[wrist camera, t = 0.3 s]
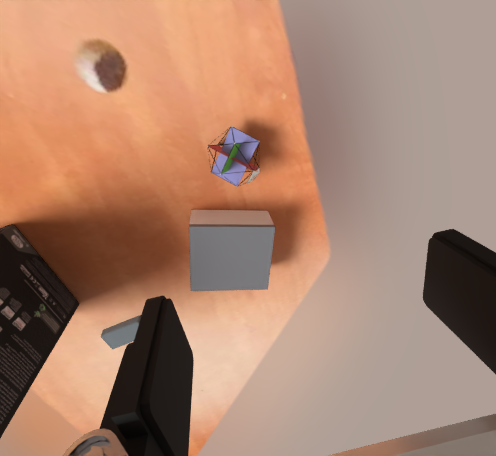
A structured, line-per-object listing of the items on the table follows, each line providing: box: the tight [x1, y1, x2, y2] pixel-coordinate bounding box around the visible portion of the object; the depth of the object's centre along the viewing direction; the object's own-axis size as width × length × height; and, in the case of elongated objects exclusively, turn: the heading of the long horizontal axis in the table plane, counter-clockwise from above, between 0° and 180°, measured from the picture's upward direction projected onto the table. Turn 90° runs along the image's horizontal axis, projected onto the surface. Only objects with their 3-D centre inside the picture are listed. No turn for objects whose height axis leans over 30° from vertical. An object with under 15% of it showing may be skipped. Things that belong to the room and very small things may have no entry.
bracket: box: [101, 316, 141, 349], centre depth 53 cm, size 4×10×2 cm, turn 112°
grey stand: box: [189, 210, 275, 291], centre depth 45 cm, size 11×12×6 cm
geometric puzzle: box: [207, 126, 260, 187], centre depth 39 cm, size 7×7×8 cm
